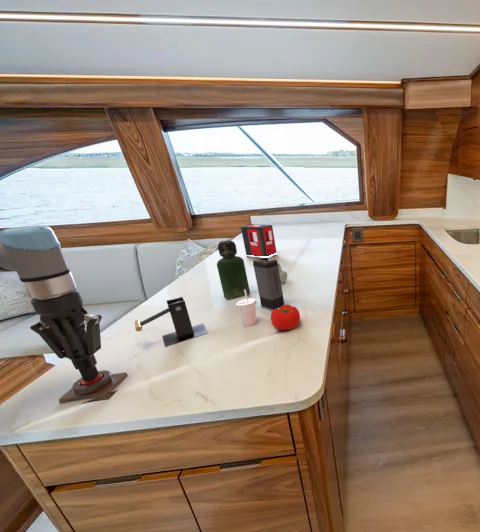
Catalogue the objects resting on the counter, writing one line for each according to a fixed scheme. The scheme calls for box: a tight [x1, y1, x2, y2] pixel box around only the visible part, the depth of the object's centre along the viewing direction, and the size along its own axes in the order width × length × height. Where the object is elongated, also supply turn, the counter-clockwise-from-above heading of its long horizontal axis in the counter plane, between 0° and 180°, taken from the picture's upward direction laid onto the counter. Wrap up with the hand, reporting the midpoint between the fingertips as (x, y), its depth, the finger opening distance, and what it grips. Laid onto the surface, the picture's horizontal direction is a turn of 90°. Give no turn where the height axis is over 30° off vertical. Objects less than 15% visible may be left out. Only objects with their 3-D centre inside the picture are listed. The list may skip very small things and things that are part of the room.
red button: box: [81, 373, 103, 386], centre depth 76 cm, size 4×4×2 cm
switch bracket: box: [161, 296, 209, 348], centre depth 100 cm, size 12×9×14 cm
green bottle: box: [216, 240, 251, 300], centre depth 131 cm, size 10×10×25 cm
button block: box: [57, 369, 129, 405], centre depth 77 cm, size 10×8×4 cm
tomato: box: [270, 303, 301, 331], centre depth 107 cm, size 10×11×6 cm
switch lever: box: [134, 300, 180, 332], centre depth 95 cm, size 13×6×2 cm, turn 133°
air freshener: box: [277, 261, 288, 284], centre depth 147 cm, size 11×8×10 cm
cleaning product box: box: [240, 223, 277, 256], centre depth 191 cm, size 16×9×20 cm, turn 72°
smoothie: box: [235, 289, 257, 327], centre depth 106 cm, size 6×6×14 cm
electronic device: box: [252, 258, 285, 311], centre depth 120 cm, size 9×6×20 cm, turn 59°
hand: (91, 377), depth 76 cm, fingers closed
